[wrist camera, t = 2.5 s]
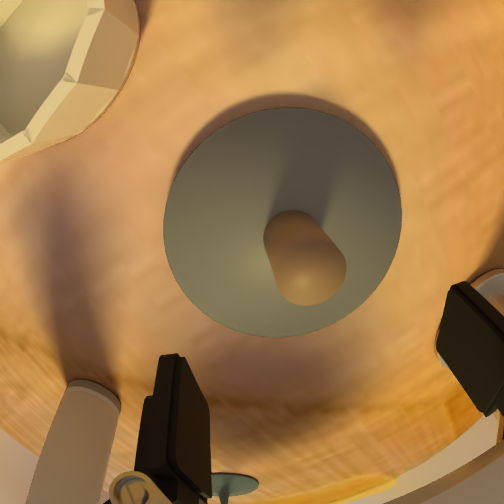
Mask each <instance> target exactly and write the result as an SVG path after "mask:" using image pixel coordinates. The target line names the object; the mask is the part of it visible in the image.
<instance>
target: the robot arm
mask: <svg viewBox="0 0 504 504" xmlns="http://www.w3.org/2000/svg"><path fill="white" fill-rule="evenodd" d="M435 354H436V356H437V358H438V360H439V361H440V362H441V364H442V365H443V366H445V367H446V368H450V370H451V371H452V373H453V374H454V375H455V377H456V378H457V380H458V381H459V383H460V384H461V385H462V387H463V388H464V390H465V391H466V393H467V394H468V396H469V397H470V399H471V400H472V402H473V403H474V405H475V406H476V408H477V409H478V410H479V411H480V412H483V414H484V415H485V417H487V416H489V415H491V414H492V413H493V414H494V416H495V417H496V419H497V420H498V422H499V428H498V435H497V442H496V445H495V446H493V447H492V448H491V449H489V450H488V451H486V452H484V453H483V454H481V455H480V456H478V457H477V458H475V459H473V460H472V461H470V462H468V463H467V464H465V465H463V466H462V467H460V468H458V469H456V470H455V471H453V472H451V473H449V474H447V475H445V476H443V477H442V478H440V479H438V480H436V481H434V482H432V483H430V484H428V485H426V486H424V487H421V488H419V489H417V490H415V491H413V492H410V493H408V494H406V495H404V496H401V497H399V498H396V499H394V500H391V501H389V502H386V503H384V504H504V269H495V270H492V271H490V272H487V273H486V274H484V275H482V276H481V277H479V278H478V279H477V280H475V281H474V282H473V283H472V284H469V283H468V282H466V281H463V282H460V283H457V284H454V285H452V286H451V287H450V290H449V291H448V293H447V298H446V303H445V308H444V312H443V316H442V321H441V325H440V328H439V330H438V334H437V337H436V341H435ZM211 497H212V477H211V452H210V414H209V407H208V404H207V402H206V400H205V398H204V396H203V394H202V392H201V390H200V388H199V386H198V384H197V382H196V379H195V377H194V375H193V373H192V371H191V369H190V367H189V365H188V362H187V360H186V358H185V357H180V356H179V354H177V353H175V354H168V355H161V356H160V357H159V361H158V367H157V373H156V380H155V386H154V392H153V395H151V396H147V397H146V398H145V400H144V404H143V410H142V416H141V423H140V430H139V436H138V444H137V451H136V459H135V467H134V471H129V472H124V473H122V474H120V475H118V476H117V477H116V478H115V479H114V480H113V482H112V483H111V485H110V489H109V498H110V499H109V500H108V501H106V502H105V503H103V504H207V498H211Z"/></svg>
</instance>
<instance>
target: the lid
mask: <svg viewBox="0 0 504 504" xmlns="http://www.w3.org/2000/svg"><path fill="white" fill-rule="evenodd" d="M401 222H402V209H401V200H400V194H399V190H398V186H397V183H396V180H395V177H394V175H393V172H392V170H391V168H390V166H389V165H388V163H387V161H386V159H385V158H384V156H383V155H382V153H381V152H380V151H379V150H378V148H377V147H376V146H375V144H374V143H373V142H372V141H370V140H369V139H368V138H367V137H366V136H365V135H364V134H363V133H362V132H360V131H359V130H358V129H356V128H355V127H353V126H352V125H351V124H349V123H347V122H345V121H343V120H341V119H339V118H337V117H335V116H332V115H329V114H326V113H323V112H320V111H315V110H310V109H304V108H276V109H267V110H263V111H259V112H255V113H252V114H248V115H245V116H243V117H241V118H238V119H236V120H234V121H231V122H230V123H228V124H226V125H225V126H223V127H221V128H220V129H218V130H217V131H215V132H214V133H213V134H211V135H210V136H209V137H208V138H207V139H205V140H204V141H203V142H202V143H201V144H200V145H199V146H198V147H197V148H196V149H195V150H194V151H193V153H192V154H191V155H190V156H189V157H188V159H187V160H186V162H185V163H184V165H183V166H182V168H181V169H180V171H179V172H178V174H177V176H176V178H175V181H174V183H173V185H172V187H171V190H170V193H169V196H168V199H167V203H166V208H165V214H164V224H163V237H164V245H165V252H166V255H167V259H168V262H169V266H170V268H171V270H172V273H173V275H174V277H175V279H176V281H177V283H178V284H179V286H180V287H181V289H182V291H183V292H184V293H185V295H186V296H187V297H188V298H189V299H190V301H191V302H192V303H193V304H194V305H195V306H196V307H197V308H199V309H200V310H201V311H202V312H203V313H204V314H206V315H207V316H209V317H210V318H211V319H213V320H214V321H216V322H218V323H220V324H222V325H224V326H226V327H228V328H231V329H233V330H236V331H238V332H242V333H246V334H250V335H255V336H262V337H289V336H296V335H301V334H306V333H310V332H313V331H316V330H319V329H322V328H324V327H326V326H329V325H331V324H333V323H335V322H337V321H338V320H340V319H342V318H344V317H345V316H347V315H348V314H350V313H351V312H352V311H354V310H355V309H356V308H357V307H359V306H360V305H361V304H362V303H363V302H364V301H365V300H366V299H367V298H368V297H369V296H370V295H371V294H372V293H373V292H374V290H375V289H376V288H377V287H378V285H379V284H380V282H381V281H382V280H383V278H384V276H385V275H386V273H387V271H388V269H389V267H390V265H391V263H392V261H393V258H394V256H395V253H396V250H397V246H398V243H399V238H400V232H401Z"/></svg>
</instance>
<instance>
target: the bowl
mask: <svg viewBox="0 0 504 504" xmlns="http://www.w3.org/2000/svg"><path fill="white" fill-rule="evenodd" d="M139 41H140V17H139V13H138V9H137V6H136V3H135V1H134V0H0V164H2V163H5V162H7V161H10V160H13V159H16V158H20V157H23V156H26V155H29V154H32V153H36V152H39V151H41V150H43V149H45V148H48V147H50V146H52V145H55V144H58V143H61V142H64V141H67V140H69V139H71V138H73V137H75V136H77V135H78V134H80V133H82V132H83V131H84V130H86V129H87V128H88V127H89V126H91V125H92V124H93V123H94V122H96V121H97V120H98V119H99V118H100V117H101V116H102V115H103V114H104V113H105V112H106V110H107V109H108V108H109V107H110V105H111V104H112V103H113V102H114V100H115V99H116V97H117V96H118V94H119V93H120V91H121V90H122V88H123V86H124V84H125V82H126V81H127V79H128V77H129V74H130V72H131V70H132V67H133V65H134V62H135V58H136V55H137V51H138V46H139Z"/></svg>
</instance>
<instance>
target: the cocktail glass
mask: <svg viewBox="0 0 504 504" xmlns="http://www.w3.org/2000/svg"><path fill="white" fill-rule="evenodd" d="M211 477H212V496H219V498H220V502H221V504H228V497H229V496H238V495H243V494H247V493H250V492H252V491H254V490H256V489H257V488H258V482H257V481H256V480H255V479H253V478H251V477H248V476H244V475H239V474H227V473H217V474H211Z"/></svg>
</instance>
